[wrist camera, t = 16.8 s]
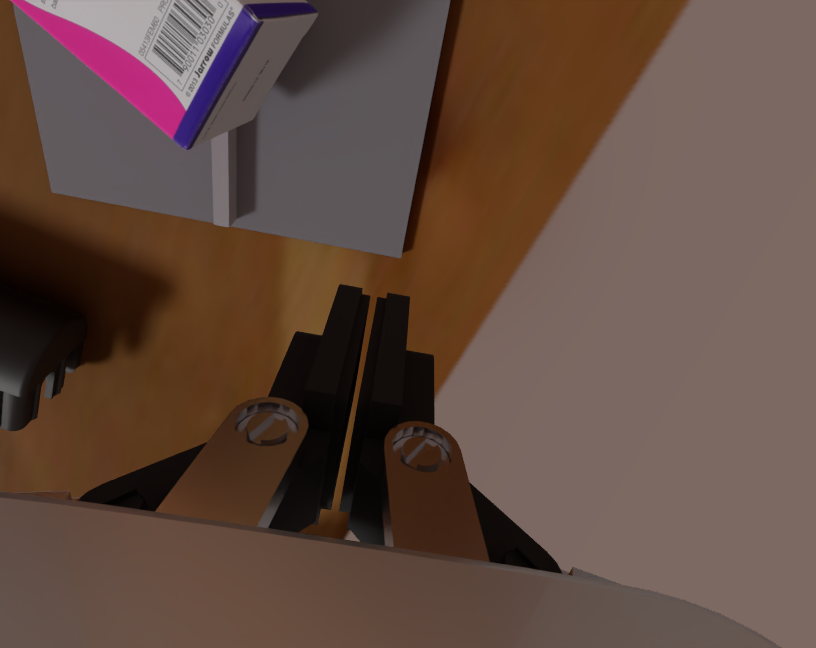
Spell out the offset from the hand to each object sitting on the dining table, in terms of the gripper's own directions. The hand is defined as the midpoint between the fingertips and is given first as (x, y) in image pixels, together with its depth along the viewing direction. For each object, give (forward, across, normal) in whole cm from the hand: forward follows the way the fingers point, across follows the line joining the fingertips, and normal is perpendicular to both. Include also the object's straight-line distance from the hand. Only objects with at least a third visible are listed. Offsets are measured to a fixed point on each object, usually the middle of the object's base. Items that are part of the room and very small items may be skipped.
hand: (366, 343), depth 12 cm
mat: (+17, +9, -2) cm, 19 cm away
